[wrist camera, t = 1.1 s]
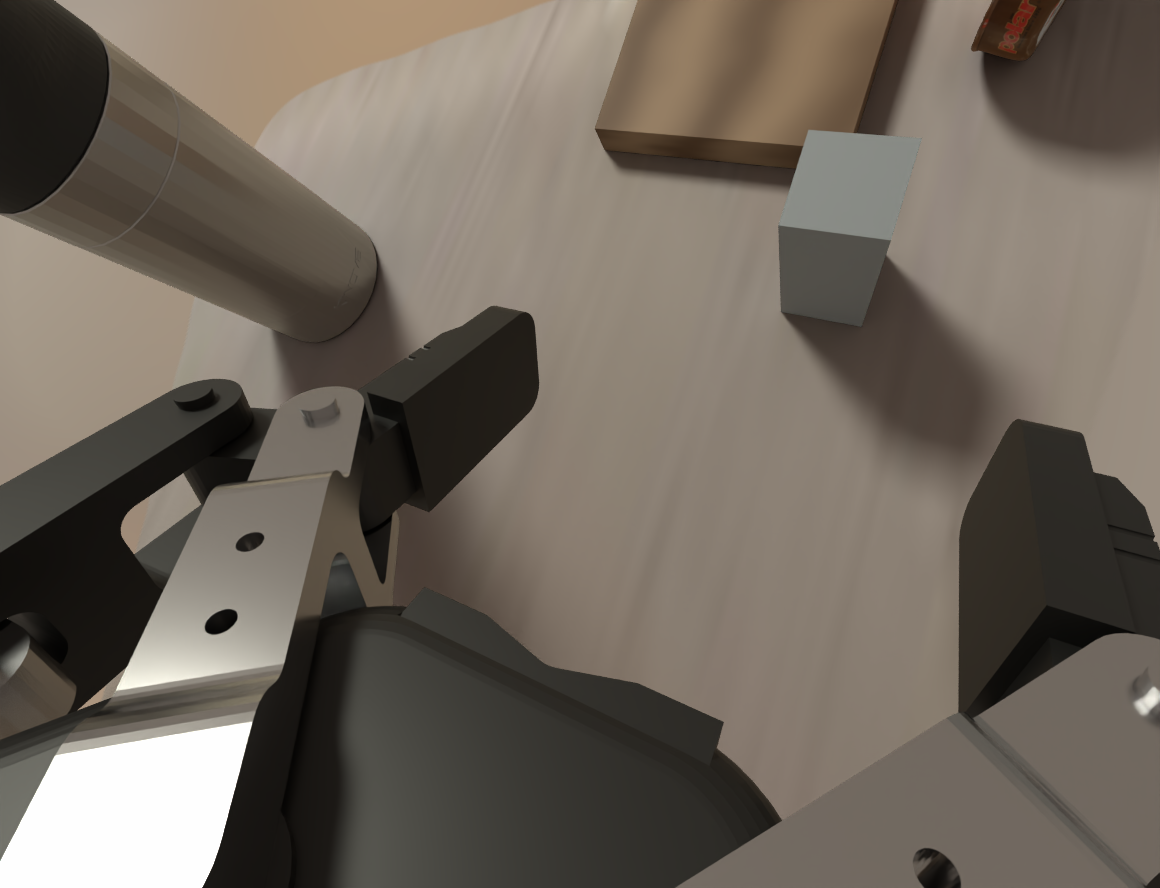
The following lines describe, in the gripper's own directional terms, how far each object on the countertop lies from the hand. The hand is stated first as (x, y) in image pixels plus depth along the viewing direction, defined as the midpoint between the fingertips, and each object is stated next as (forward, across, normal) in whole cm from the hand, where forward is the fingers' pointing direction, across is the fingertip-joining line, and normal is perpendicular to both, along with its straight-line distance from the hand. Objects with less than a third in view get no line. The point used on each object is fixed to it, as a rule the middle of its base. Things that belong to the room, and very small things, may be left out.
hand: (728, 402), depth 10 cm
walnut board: (+32, +8, -3) cm, 33 cm away
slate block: (+23, 0, +6) cm, 24 cm away
